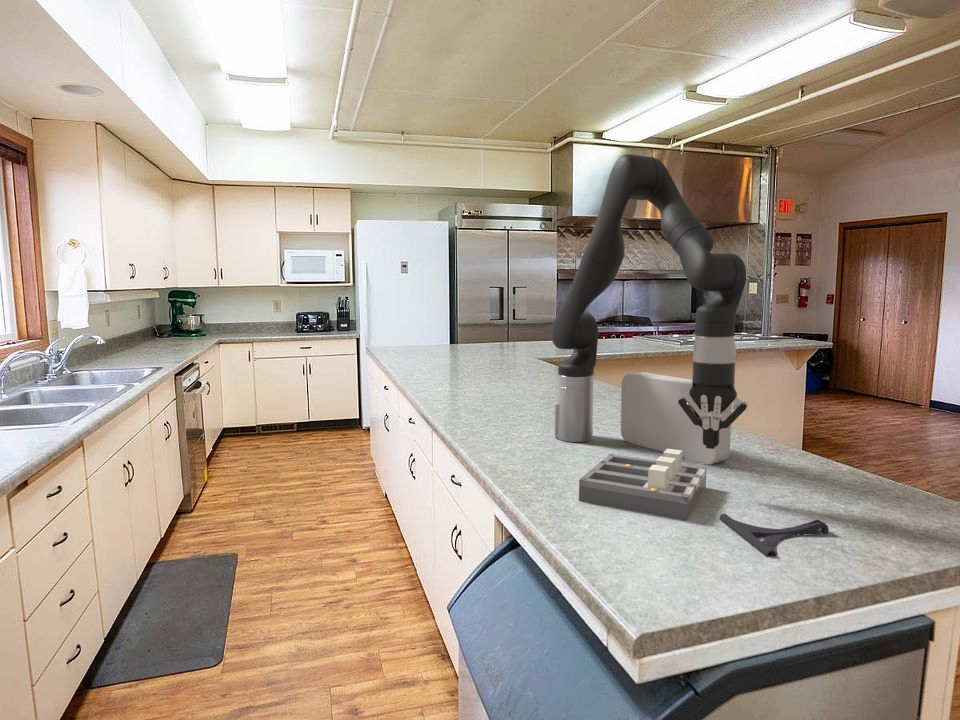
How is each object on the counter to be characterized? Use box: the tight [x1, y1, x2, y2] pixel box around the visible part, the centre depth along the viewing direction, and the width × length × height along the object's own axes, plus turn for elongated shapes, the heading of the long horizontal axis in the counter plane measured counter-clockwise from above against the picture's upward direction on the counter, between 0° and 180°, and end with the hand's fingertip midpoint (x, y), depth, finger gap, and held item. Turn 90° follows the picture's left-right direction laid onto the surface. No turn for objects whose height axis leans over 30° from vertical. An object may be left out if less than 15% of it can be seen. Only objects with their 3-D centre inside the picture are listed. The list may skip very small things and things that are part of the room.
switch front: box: [643, 465, 674, 492], centre depth 110 cm, size 5×3×4 cm
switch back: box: [662, 449, 687, 473], centre depth 120 cm, size 5×3×4 cm
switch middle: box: [655, 455, 681, 482], centre depth 115 cm, size 5×3×4 cm
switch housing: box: [578, 453, 708, 521], centre depth 117 cm, size 20×19×4 cm
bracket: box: [719, 513, 830, 558], centre depth 98 cm, size 14×15×3 cm
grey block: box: [620, 371, 733, 465], centre depth 146 cm, size 29×8×18 cm, turn 33°
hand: (710, 447), depth 116 cm, fingers closed
